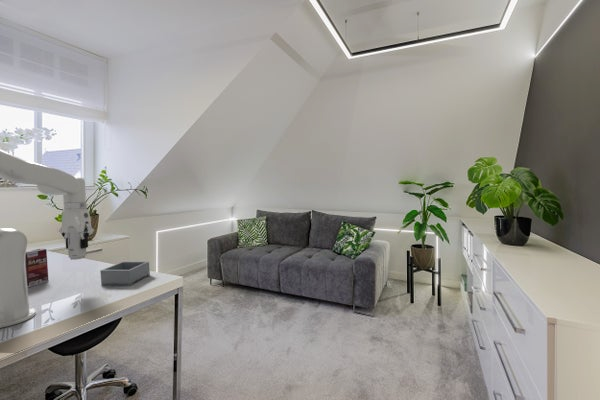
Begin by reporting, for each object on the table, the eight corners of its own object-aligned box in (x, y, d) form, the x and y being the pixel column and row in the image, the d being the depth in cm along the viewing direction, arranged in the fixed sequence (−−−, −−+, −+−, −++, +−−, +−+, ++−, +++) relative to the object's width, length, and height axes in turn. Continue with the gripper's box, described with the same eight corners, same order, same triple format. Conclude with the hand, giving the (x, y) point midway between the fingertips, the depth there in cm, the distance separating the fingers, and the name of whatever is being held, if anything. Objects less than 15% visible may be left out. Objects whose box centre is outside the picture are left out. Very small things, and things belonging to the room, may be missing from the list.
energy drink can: (67, 258, 120) (65, 224, 119) (84, 255, 124) (83, 222, 124) (70, 260, 116) (68, 225, 115) (88, 257, 120) (86, 223, 120)
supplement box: (29, 287, 125) (26, 253, 124) (20, 287, 126) (17, 252, 125) (49, 281, 134) (47, 248, 133) (41, 280, 135) (39, 248, 134)
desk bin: (130, 285, 125) (129, 270, 124) (101, 285, 126) (100, 270, 126) (149, 275, 139) (148, 261, 138) (123, 275, 140) (122, 261, 140)
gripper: (100, 205, 122) (102, 246, 123) (64, 206, 124) (66, 246, 124) (86, 206, 115) (88, 249, 115) (48, 207, 116) (50, 249, 117)
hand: (77, 247), depth 120 cm, fingers closed on energy drink can, 6 cm apart
